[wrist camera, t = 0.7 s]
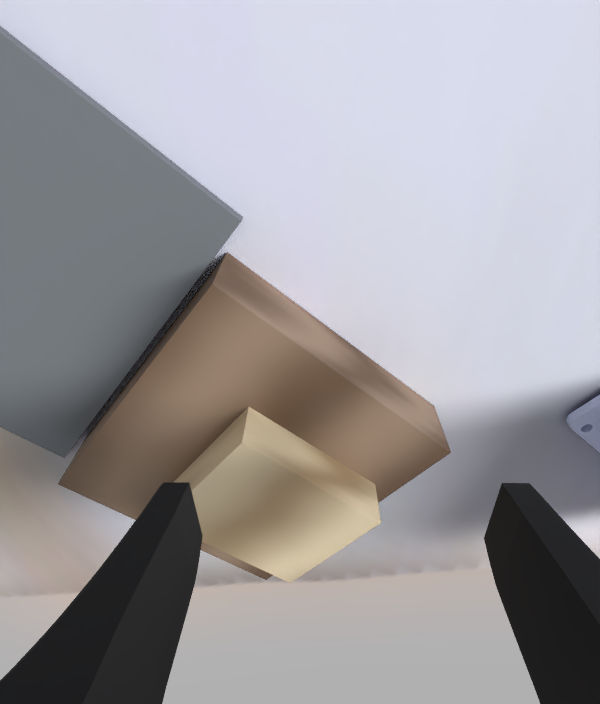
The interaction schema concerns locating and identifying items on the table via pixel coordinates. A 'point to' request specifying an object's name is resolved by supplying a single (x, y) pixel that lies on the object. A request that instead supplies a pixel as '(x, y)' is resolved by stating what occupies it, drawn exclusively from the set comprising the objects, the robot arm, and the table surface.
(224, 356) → the block
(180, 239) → the charcoal mat
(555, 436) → the table surface
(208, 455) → the birch tile
